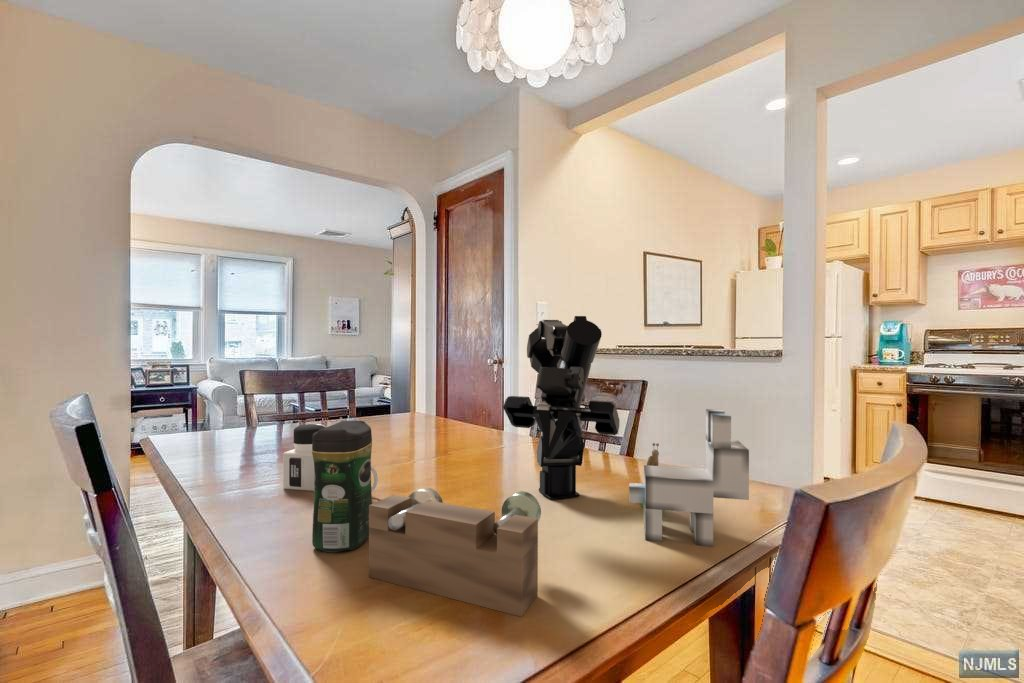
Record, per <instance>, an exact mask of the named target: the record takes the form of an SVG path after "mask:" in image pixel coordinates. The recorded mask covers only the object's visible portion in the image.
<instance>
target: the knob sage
mask: <svg viewBox="0 0 1024 683" xmlns="http://www.w3.org/2000/svg"><path fill="white" fill-rule="evenodd" d="M514 515H520V516H526V517H532V518H538V523H539V522H540V520H541V515H542V509H541V505H540V502H539V501H538V499H537V498H536V497H535V496H534V495H533V494H531V493H529V492H528V491H518V492H517V491H516V492H515V493H513V494H512V495H510V496H509V497H507V498H506V499H505V500H504V502H502V506H501V518H500V519H498V520H497V521H495V524H494V525H493V531H494V533H495V534H496V535H497V528H498V527H500V526H501V525H502V524H504V523H505V522H506V521H507V520H509V519H510V518H511V517H513V516H514Z"/></svg>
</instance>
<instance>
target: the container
mask: <svg viewBox="0 0 1024 683" xmlns="http://www.w3.org/2000/svg"><path fill="white" fill-rule="evenodd" d="M326 427H327V426H325V425H323V424H320V423H306V424H301V425H298V426H295V427H294V429H293V449H290V450H288V451H284V452H283V454H282V455H283V456H282V459H283V460H282V464H283V465H282V466H283V467H282V469H283V470H282V473H283V477H282V478H283V479H282V481H283V482H282V483H283V484H282V485H283V489H284V490H297V491H309V492H310V491H311V492H314V479H315V472H314V460H313V455H312V442H313V439H312V437H313V434H314V433H315V432H318V431H319V430H320V429H322V428H326Z"/></svg>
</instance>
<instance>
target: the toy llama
mask: <svg viewBox="0 0 1024 683" xmlns="http://www.w3.org/2000/svg"><path fill="white" fill-rule="evenodd" d="M715 498H717V499H729V500H730V499H731V500H732V499H733V500H742V501H743V500H745V501H749V500H750V449H749V448H747V447H746V446H745V445H744V444H743V443H742V442H740V441H739V440H735V439H732V416H731V415H730V414H729V413H726V412H725V411H724V410H723V409H719V408H717V409H713V408H711V409H710V408H705V468H702V467H700V468H698V467H682V466H681V467H680V466H667V465H666V466H665V465H663V466H661V465H658V466H650V465H647V464H646V465H645V464H644V465H643V483H640V482H639V483H636V482H629V483H628V502H629V503H634V504H639V503H644V509H643V528H644V539H645V540H644V541H650V542H660V543H662V542H663V511H671V512H673V511H674V512H685V513H689V529H690V531H691V533H693V540H694V543H695V545H696V546H703V547H714V499H715Z"/></svg>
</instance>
